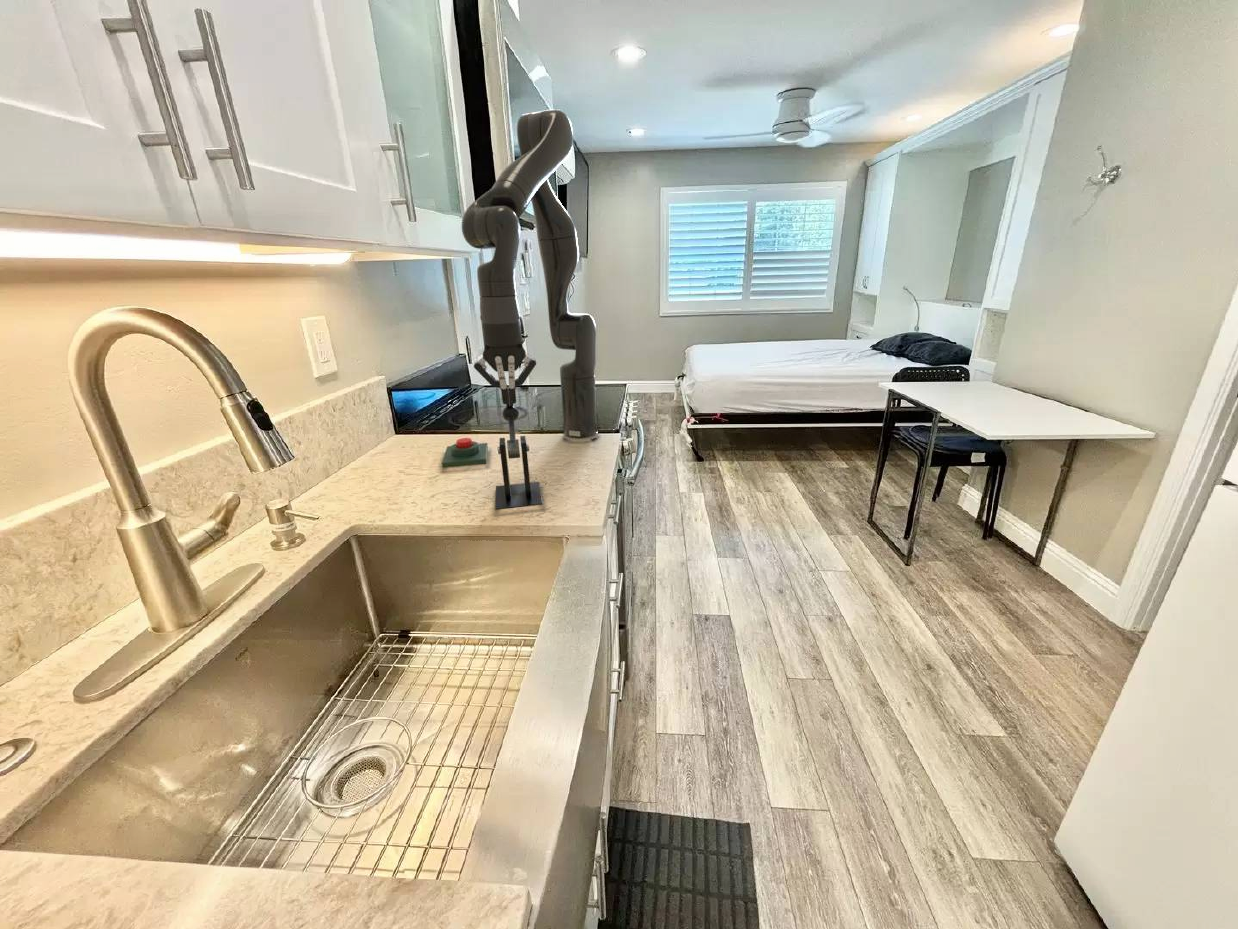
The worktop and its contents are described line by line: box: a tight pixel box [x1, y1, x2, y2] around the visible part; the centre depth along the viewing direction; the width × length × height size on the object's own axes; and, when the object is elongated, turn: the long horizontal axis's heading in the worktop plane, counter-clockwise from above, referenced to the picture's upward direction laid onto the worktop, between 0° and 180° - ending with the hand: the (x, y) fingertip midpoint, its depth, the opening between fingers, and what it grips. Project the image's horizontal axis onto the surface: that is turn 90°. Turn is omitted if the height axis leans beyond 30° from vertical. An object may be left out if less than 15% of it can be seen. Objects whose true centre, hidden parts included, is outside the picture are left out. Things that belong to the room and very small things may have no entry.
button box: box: [441, 440, 489, 469], centre depth 121 cm, size 12×10×4 cm
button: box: [455, 437, 473, 449], centre depth 120 cm, size 4×4×2 cm
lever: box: [501, 405, 521, 460], centre depth 100 cm, size 14×3×3 cm, turn 12°
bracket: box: [494, 435, 543, 511], centre depth 98 cm, size 11×9×13 cm
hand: (509, 405), depth 103 cm, fingers closed
